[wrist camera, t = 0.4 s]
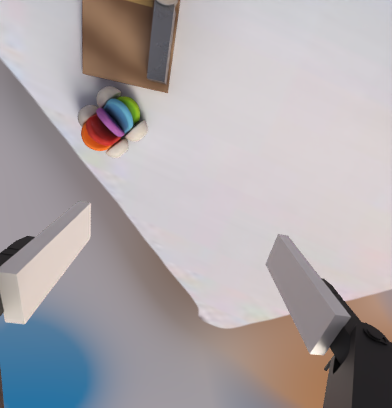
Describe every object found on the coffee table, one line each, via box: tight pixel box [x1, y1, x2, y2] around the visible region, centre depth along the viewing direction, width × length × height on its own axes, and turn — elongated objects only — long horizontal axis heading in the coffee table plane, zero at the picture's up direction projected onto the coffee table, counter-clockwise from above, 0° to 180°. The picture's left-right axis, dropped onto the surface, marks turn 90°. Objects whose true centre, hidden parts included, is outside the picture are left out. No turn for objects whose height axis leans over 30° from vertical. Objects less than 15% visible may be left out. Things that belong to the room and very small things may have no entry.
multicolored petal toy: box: [78, 86, 148, 158], centre depth 32 cm, size 8×10×7 cm
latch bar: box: [147, 0, 176, 85], centre depth 29 cm, size 8×2×3 cm, turn 168°
